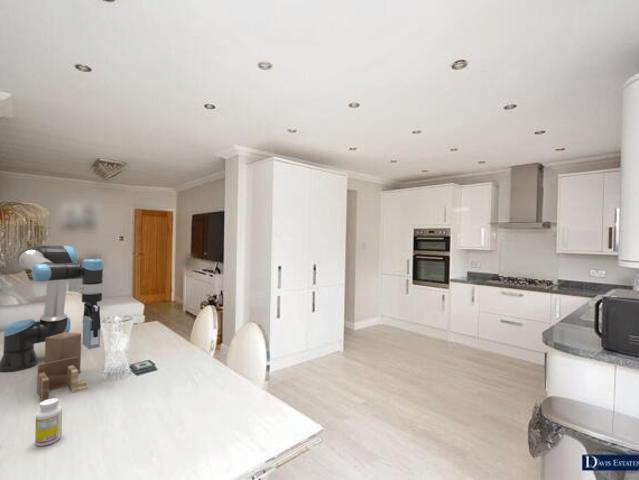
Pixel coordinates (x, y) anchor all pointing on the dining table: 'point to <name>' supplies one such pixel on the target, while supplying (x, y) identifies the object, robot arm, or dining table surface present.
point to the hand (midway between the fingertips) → (90, 341)
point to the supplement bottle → (48, 422)
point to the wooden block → (63, 347)
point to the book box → (88, 333)
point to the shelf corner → (53, 376)
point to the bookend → (74, 380)
